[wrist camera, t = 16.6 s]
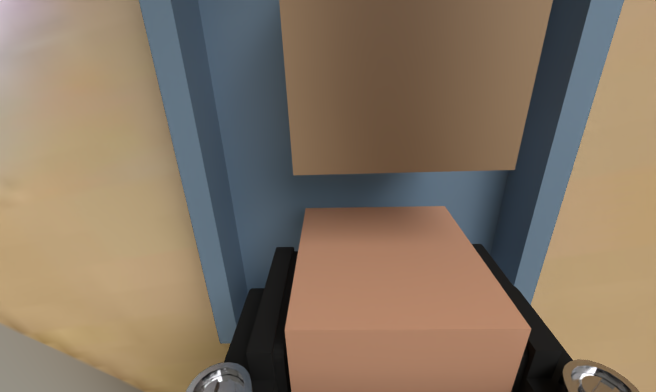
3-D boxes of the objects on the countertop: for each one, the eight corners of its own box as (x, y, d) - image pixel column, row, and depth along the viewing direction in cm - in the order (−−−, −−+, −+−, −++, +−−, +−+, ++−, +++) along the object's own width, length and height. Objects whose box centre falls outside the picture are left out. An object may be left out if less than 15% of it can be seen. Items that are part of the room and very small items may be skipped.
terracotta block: (444, 206, 10) (531, 328, 6) (429, 311, 12) (486, 466, 8) (305, 208, 10) (284, 330, 6) (311, 312, 12) (299, 466, 8)
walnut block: (457, -40, 9) (581, -125, 5) (439, 119, 11) (514, 169, 7) (300, -33, 9) (270, -110, 5) (309, 123, 11) (293, 175, 7)
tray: (592, -133, 9) (684, -195, 6) (491, 296, 15) (519, 340, 13) (158, -113, 9) (99, -167, 7) (236, 299, 15) (220, 343, 13)
